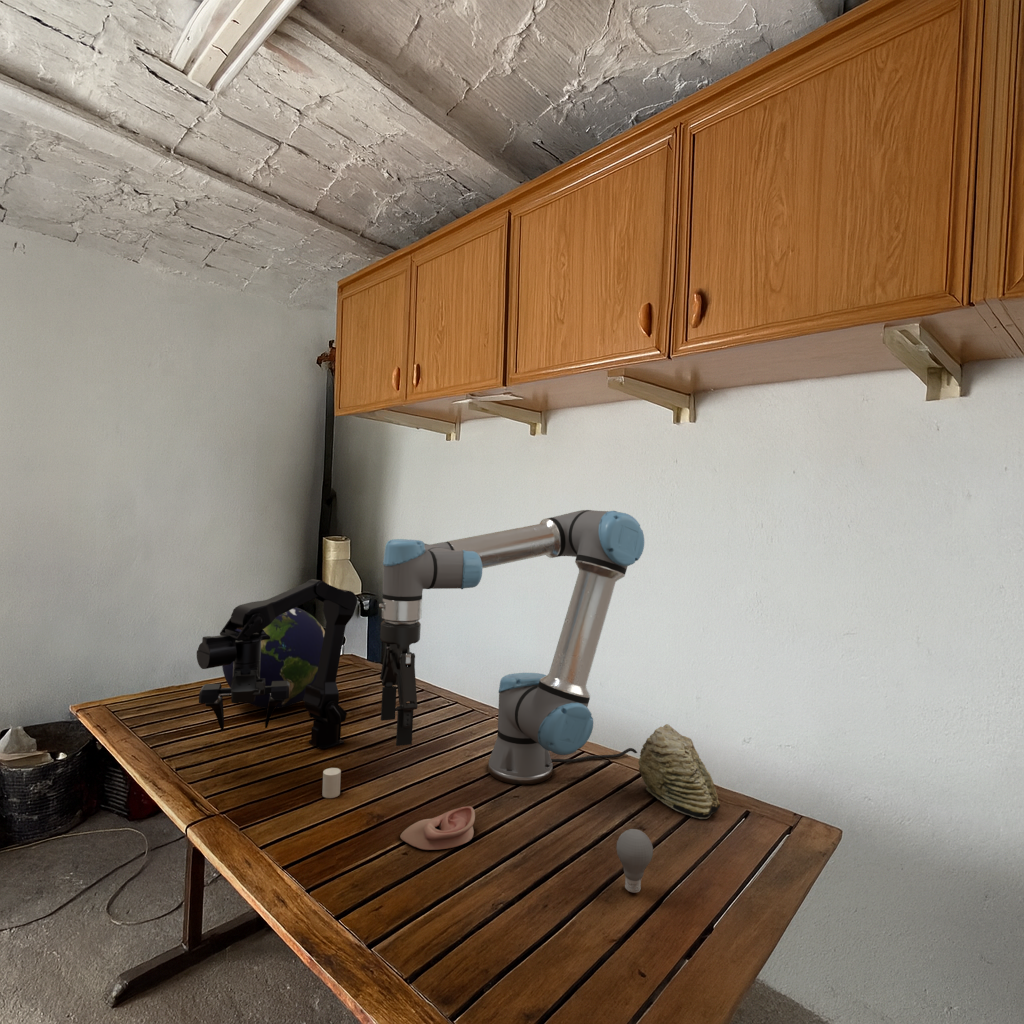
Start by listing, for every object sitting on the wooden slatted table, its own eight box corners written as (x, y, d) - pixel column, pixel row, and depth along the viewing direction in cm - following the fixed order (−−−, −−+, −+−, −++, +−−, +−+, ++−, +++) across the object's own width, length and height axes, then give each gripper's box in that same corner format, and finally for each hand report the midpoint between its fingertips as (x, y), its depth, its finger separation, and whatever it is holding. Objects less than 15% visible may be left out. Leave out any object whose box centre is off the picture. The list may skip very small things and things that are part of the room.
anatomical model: (394, 823, 116) (416, 795, 127) (393, 845, 116) (415, 815, 127) (464, 834, 113) (480, 805, 125) (463, 856, 113) (479, 825, 125)
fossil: (649, 780, 149) (652, 716, 148) (724, 809, 136) (728, 740, 135) (628, 791, 142) (631, 725, 142) (704, 823, 129) (708, 750, 129)
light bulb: (610, 879, 108) (613, 822, 108) (644, 879, 109) (647, 822, 109) (619, 902, 102) (622, 840, 102) (655, 901, 103) (658, 840, 103)
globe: (289, 685, 209) (292, 594, 208) (348, 705, 191) (352, 606, 191) (199, 706, 185) (203, 604, 184) (258, 732, 167) (262, 619, 167)
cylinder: (318, 796, 134) (319, 773, 134) (328, 789, 137) (329, 766, 137) (333, 799, 133) (334, 776, 133) (343, 792, 136) (344, 769, 136)
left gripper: (196, 672, 133) (193, 745, 134) (289, 668, 139) (287, 739, 140) (203, 659, 144) (201, 727, 144) (290, 656, 150) (288, 721, 150)
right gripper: (369, 609, 131) (364, 711, 131) (396, 635, 108) (390, 759, 108) (404, 608, 134) (399, 708, 134) (438, 633, 111) (432, 754, 111)
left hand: (244, 729), depth 144 cm, fingers open, 9 cm apart
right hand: (395, 731), depth 121 cm, fingers open, 13 cm apart
